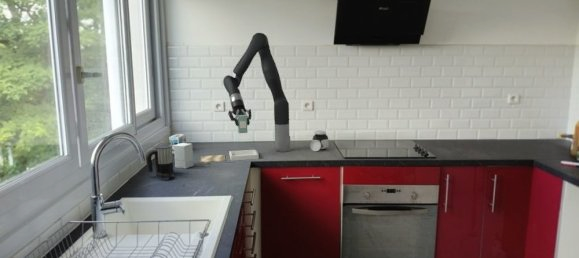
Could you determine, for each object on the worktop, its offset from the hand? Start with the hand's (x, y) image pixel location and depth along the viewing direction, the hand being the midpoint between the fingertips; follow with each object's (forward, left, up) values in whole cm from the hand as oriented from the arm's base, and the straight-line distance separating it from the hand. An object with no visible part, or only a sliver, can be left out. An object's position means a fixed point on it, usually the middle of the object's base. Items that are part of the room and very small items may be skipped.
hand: (243, 124), depth 246 cm
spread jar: (-49, -10, -20) cm, 54 cm away
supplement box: (+34, +9, -20) cm, 41 cm away
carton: (0, -2, -5) cm, 5 cm away
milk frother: (+43, +26, -20) cm, 54 cm away
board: (+18, -2, -20) cm, 27 cm away
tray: (0, -2, -20) cm, 20 cm away
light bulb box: (+39, -30, -20) cm, 53 cm away
